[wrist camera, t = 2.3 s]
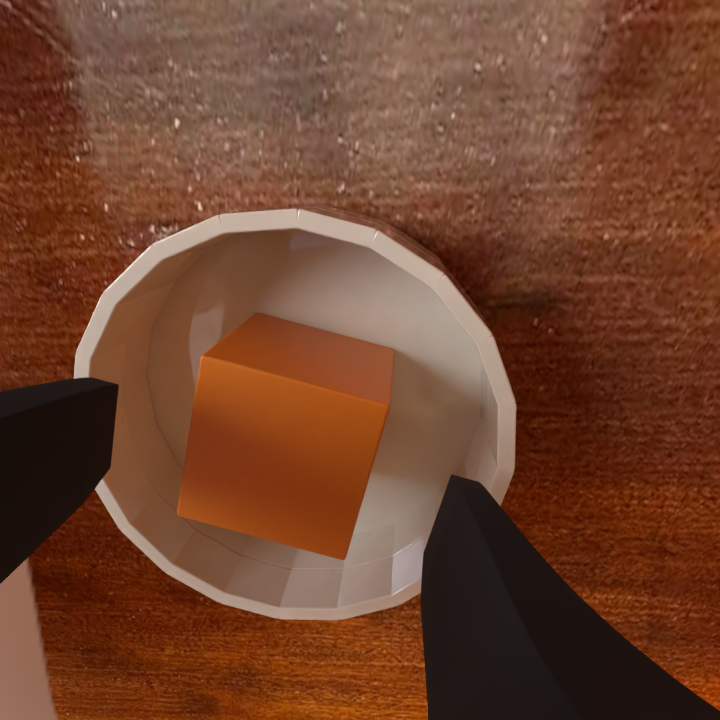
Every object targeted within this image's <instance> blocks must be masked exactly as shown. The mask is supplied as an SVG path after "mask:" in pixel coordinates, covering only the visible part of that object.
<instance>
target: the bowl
mask: <svg viewBox="0 0 720 720" xmlns="http://www.w3.org/2000/svg"><path fill="white" fill-rule="evenodd" d="M257 312H258V313H261V314H265V315H269V316H273V317H276V318H280V319H284V320H288V321H291V322H295V323H299V324H303V325H306V326H310V327H314V328H318V329H321V330H325V331H329V332H333V333H336V334H340V335H344V336H348V337H351V338H355V339H359V340H363V341H367V342H370V343H374V344H378V345H382V346H385V347H389V348H393V349H394V350H395V360H394V371H393V381H392V392H391V403H390V410H389V413H388V416H387V420H386V423H385V427H384V430H383V433H382V437H381V440H380V444H379V447H378V450H377V454H376V457H375V461H374V464H373V467H372V471H371V474H370V478H369V481H368V485H367V488H366V491H365V495H364V498H363V502H362V505H361V508H360V512H359V515H358V519H357V522H356V525H355V529H354V532H353V536H352V539H351V543H350V546H349V549H348V553H347V556H346V558H345V560H340V559H336V558H332V557H329V556H325V555H321V554H318V553H314V552H310V551H306V550H303V549H299V548H295V547H292V546H288V545H284V544H281V543H277V542H273V541H270V540H266V539H262V538H258V537H255V536H251V535H247V534H244V533H240V532H236V531H233V530H229V529H225V528H221V527H218V526H214V525H210V524H207V523H203V522H199V521H196V520H192V519H188V518H185V517H181V516H178V515H177V507H178V501H179V494H180V488H181V481H182V475H183V468H184V462H185V455H186V449H187V442H188V436H189V429H190V423H191V416H192V410H193V403H194V397H195V390H196V384H197V377H198V371H199V364H200V358H201V356H202V355H203V354H204V353H205V352H206V351H208V350H209V349H210V348H211V347H213V346H214V345H215V344H217V343H218V342H219V341H220V340H222V339H223V338H224V337H225V336H227V335H228V334H229V333H231V332H232V331H233V330H234V329H236V328H237V327H238V326H239V325H241V324H242V323H243V322H244V321H246V320H247V319H248V318H250V317H251V316H252V315H253V314H255V313H257ZM86 377H93V378H96V379H100V380H104V381H107V382H111V383H115V384H118V385H119V389H118V399H117V409H116V419H115V429H114V439H113V449H112V459H111V468H110V469H109V471H108V472H107V473H106V475H105V476H104V477H103V479H102V480H101V481H100V483H99V484H98V485H97V487H96V488H95V490H96V492H97V494H98V495H99V497H100V499H101V500H102V502H103V504H104V505H105V507H106V509H107V510H108V512H109V513H110V515H111V517H112V518H113V520H114V522H115V523H116V525H117V527H118V528H119V529H121V532H122V533H123V534H124V535H125V536H126V537H128V538H129V539H130V540H131V541H132V542H133V543H134V544H135V545H136V546H137V547H138V548H139V549H140V550H141V551H142V552H143V553H144V554H146V555H147V556H148V557H149V558H150V559H151V560H152V561H153V562H154V563H155V564H156V565H157V566H158V567H159V568H160V569H161V570H162V571H163V572H166V574H168V575H170V576H171V577H173V578H175V579H177V580H179V581H180V582H182V583H184V584H186V585H188V586H189V587H191V588H193V589H195V590H197V591H198V592H200V593H202V594H204V595H205V596H207V597H209V598H211V599H213V600H214V601H216V602H220V603H221V604H224V605H228V606H231V607H235V608H239V609H242V610H246V611H250V612H254V613H257V614H261V615H265V616H268V617H272V618H276V619H285V620H344V619H348V618H352V617H356V616H360V615H364V614H368V613H372V612H376V611H380V610H384V609H388V608H392V607H396V606H398V605H401V604H403V603H404V602H406V601H408V600H409V599H411V598H413V597H415V596H416V595H418V594H420V593H421V580H422V565H423V552H424V550H425V547H426V544H427V541H428V538H429V536H430V533H431V530H432V527H433V524H434V521H435V519H436V516H437V513H438V510H439V507H440V504H441V502H442V499H443V496H444V493H445V490H446V487H447V485H448V482H449V479H450V476H451V474H452V475H456V476H459V477H463V478H467V479H471V480H474V481H478V482H480V483H481V484H482V485H483V486H484V487H485V488H486V489H487V491H488V492H489V493H490V494H491V495H492V497H493V498H494V499H495V500H496V502H497V503H498V504H499V505H500V506H501V504H502V501H503V499H504V496H505V494H506V491H507V489H508V486H509V484H510V481H511V479H512V476H513V474H514V469H515V450H516V409H517V405H516V400H515V397H514V394H513V391H512V388H511V385H510V382H509V379H508V376H507V373H506V370H505V367H504V364H503V361H502V358H501V355H500V352H499V350H498V347H497V344H496V341H495V338H494V336H493V334H492V332H491V330H490V328H489V327H488V325H487V323H486V321H485V320H484V318H483V316H482V314H481V313H480V311H479V309H478V308H477V306H476V304H475V303H474V301H473V300H472V299H471V298H470V296H469V295H468V294H467V293H466V291H465V290H464V289H463V287H462V286H461V284H460V283H459V281H458V280H457V279H456V278H455V277H454V276H453V274H452V273H451V272H450V271H449V270H448V268H447V267H446V266H445V264H444V263H443V262H442V261H441V259H440V258H439V257H437V255H435V254H434V253H432V252H431V251H429V250H428V249H427V248H425V247H424V246H423V245H421V244H420V243H418V242H417V241H416V240H414V239H413V238H411V237H410V236H408V235H407V234H405V233H404V232H402V231H400V230H398V229H396V228H394V227H393V226H391V225H390V224H388V223H387V222H384V221H382V220H378V219H375V218H371V217H368V216H365V215H362V214H359V213H356V212H352V211H347V210H342V209H337V208H333V207H329V206H325V205H309V206H295V207H281V208H267V209H256V210H248V211H240V212H231V213H223V214H219V215H216V216H214V217H211V218H209V219H207V220H204V221H202V222H200V223H198V224H195V225H193V226H191V227H189V228H186V229H184V230H182V231H180V232H177V233H175V234H173V235H171V236H168V237H166V238H164V239H162V240H159V241H157V242H155V243H153V244H152V245H150V246H149V247H148V248H147V249H146V250H145V251H144V252H143V253H142V254H141V255H140V256H139V257H138V258H137V259H136V260H135V261H134V262H133V263H132V264H131V265H130V266H129V267H128V268H127V269H126V270H125V271H124V272H123V273H122V274H121V275H120V276H119V277H118V278H117V279H116V280H115V281H114V282H113V283H112V284H111V285H110V286H109V287H108V288H107V289H106V290H105V291H104V292H103V294H102V295H101V297H100V300H99V302H98V304H97V306H96V308H95V311H94V313H93V315H92V317H91V320H90V322H89V324H88V326H87V328H86V331H85V333H84V335H83V337H82V340H81V342H80V344H79V346H78V349H77V351H76V355H75V368H74V379H75V378H86Z"/></svg>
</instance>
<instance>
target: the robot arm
mask: <svg viewBox="0 0 720 720" xmlns="http://www.w3.org/2000/svg"><path fill="white" fill-rule="evenodd" d="M118 389H119V385H118V384H115V383H111V382H107V381H104V380H100V379H96V378H93V377H86V378H75V379H68V380H62V381H56V382H50V383H45V384H39V385H34V386H29V387H23V388H18V389H13V390H8V391H2V392H0V583H1V582H3V580H5V579H6V578H7V577H8V576H9V575H10V574H11V573H12V572H13V571H14V570H15V569H16V568H17V567H18V566H19V565H20V564H21V563H22V562H23V561H25V560H26V559H27V558H28V557H29V556H30V555H31V554H32V553H33V552H34V551H35V550H36V549H37V548H38V547H39V546H40V545H41V544H42V543H43V542H44V541H45V540H46V539H47V538H48V537H50V536H51V535H52V534H53V533H54V532H55V531H56V530H57V529H58V528H59V527H60V526H61V525H62V524H63V523H64V522H65V521H66V520H67V519H68V518H69V517H70V516H71V515H72V514H73V513H74V512H75V511H76V510H77V509H78V508H79V507H80V506H81V505H82V504H83V503H84V501H85V500H86V499H87V498H88V496H89V495H90V494H91V493H92V492H93V490H94V489H95V488H96V487H97V485H98V484H99V483H100V481H101V480H102V479H103V477H104V476H105V475H106V473H107V472H108V471H109V469H110V468H111V459H112V449H113V439H114V429H115V419H116V409H117V399H118ZM421 613H422V628H423V643H424V657H425V672H426V686H427V700H428V720H720V711H719V710H717V709H716V708H714V707H713V706H711V705H710V704H709V703H707V702H706V701H704V700H703V699H702V698H700V697H699V696H697V695H696V694H695V693H693V692H692V691H691V690H689V689H688V688H687V687H685V686H684V685H683V684H681V683H680V682H679V681H677V680H676V679H675V678H673V677H672V676H671V675H669V674H668V673H667V672H666V671H664V670H663V669H662V668H661V667H659V666H658V665H657V664H656V663H655V662H653V661H652V660H651V659H650V658H648V657H647V656H646V655H645V654H643V653H642V652H641V651H640V650H638V649H637V648H636V647H635V646H633V645H632V644H631V643H630V642H629V641H628V640H626V639H625V638H624V637H623V636H622V635H621V634H619V633H618V632H617V631H616V630H615V629H614V628H613V627H611V626H610V625H609V624H608V623H607V622H606V621H605V620H604V619H603V618H602V617H601V616H600V615H599V614H597V613H596V612H595V611H594V610H593V609H592V608H591V607H590V606H589V605H588V604H587V603H586V602H585V601H583V600H582V599H581V598H580V597H579V596H578V595H577V594H576V593H575V592H574V591H573V590H572V589H571V588H570V587H569V586H568V585H567V583H566V582H565V581H564V580H563V579H562V578H561V577H560V576H559V575H558V574H557V573H556V572H555V571H554V569H553V568H552V567H551V566H550V565H549V564H548V563H547V562H546V561H545V560H544V559H543V557H542V556H541V555H540V554H539V553H538V552H537V551H536V549H535V548H534V547H533V546H532V545H531V544H530V542H529V541H528V540H527V539H526V538H525V536H524V535H523V534H522V533H521V532H520V530H519V529H518V528H517V527H516V525H515V524H514V523H513V522H512V520H511V519H510V518H509V517H508V515H507V514H506V513H505V512H504V510H503V509H502V508H501V507H500V505H499V504H498V503H497V502H496V500H495V499H494V498H493V497H492V495H491V494H490V493H489V492H488V491H487V489H486V488H485V487H484V486H483V485H482V484H481V483H480V482H478V481H474V480H471V479H467V478H463V477H459V476H456V475H452V474H451V476H450V479H449V482H448V485H447V487H446V490H445V493H444V496H443V499H442V502H441V504H440V507H439V510H438V513H437V516H436V519H435V521H434V524H433V527H432V530H431V533H430V536H429V538H428V541H427V544H426V547H425V550H424V552H423V565H422V580H421Z"/></svg>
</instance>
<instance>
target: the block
mask: <svg viewBox="0 0 720 720" xmlns="http://www.w3.org/2000/svg"><path fill="white" fill-rule="evenodd" d="M394 360H395V350H394V349H393V348H389V347H385V346H382V345H378V344H374V343H370V342H367V341H363V340H359V339H355V338H351V337H348V336H344V335H340V334H336V333H333V332H329V331H325V330H321V329H318V328H314V327H310V326H306V325H303V324H299V323H295V322H291V321H288V320H284V319H280V318H276V317H273V316H269V315H265V314H261V313H258V312H257V313H255V314H253V315H252V316H251V317H250V318H248V319H247V320H246V321H244V322H243V323H242V324H241V325H239V326H238V327H237V328H236V329H234V330H233V331H232V332H231V333H229V334H228V335H227V336H225V337H224V338H223V339H222V340H220V341H219V342H218V343H217V344H215V345H214V346H213V347H211V348H210V349H209V350H208V351H206V352H205V353H204V354H203V355H202V356H201V358H200V364H199V371H198V377H197V384H196V390H195V397H194V403H193V410H192V416H191V423H190V429H189V436H188V442H187V449H186V455H185V462H184V468H183V475H182V481H181V488H180V494H179V501H178V507H177V515H178V516H181V517H185V518H188V519H192V520H196V521H199V522H203V523H207V524H210V525H214V526H218V527H221V528H225V529H229V530H233V531H236V532H240V533H244V534H247V535H251V536H255V537H258V538H262V539H266V540H270V541H273V542H277V543H281V544H284V545H288V546H292V547H295V548H299V549H303V550H306V551H310V552H314V553H318V554H321V555H325V556H329V557H332V558H336V559H340V560H345V558H346V556H347V553H348V549H349V546H350V543H351V539H352V536H353V532H354V529H355V525H356V522H357V519H358V515H359V512H360V508H361V505H362V502H363V498H364V495H365V491H366V488H367V485H368V481H369V478H370V474H371V471H372V467H373V464H374V461H375V457H376V454H377V450H378V447H379V444H380V440H381V437H382V433H383V430H384V427H385V423H386V420H387V416H388V413H389V410H390V403H391V392H392V381H393V371H394Z"/></svg>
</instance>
